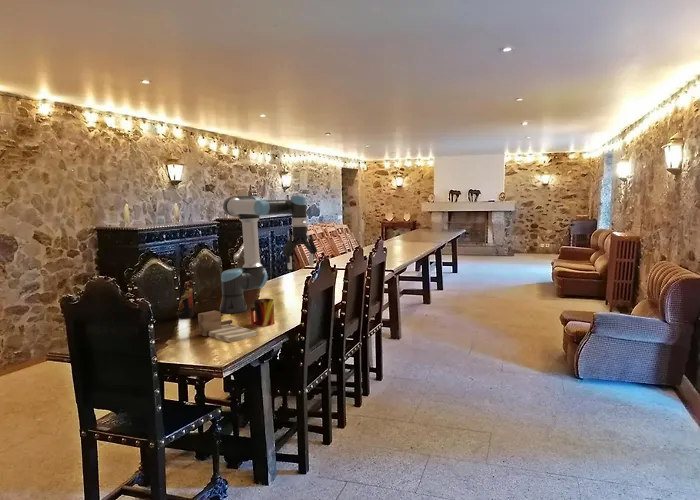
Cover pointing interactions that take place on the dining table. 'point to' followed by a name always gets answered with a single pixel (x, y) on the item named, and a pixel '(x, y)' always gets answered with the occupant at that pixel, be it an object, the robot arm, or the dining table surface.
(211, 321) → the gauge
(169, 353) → the dining table surface
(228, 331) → the board
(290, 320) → the dining table surface
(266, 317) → the mug
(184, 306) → the statue
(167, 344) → the dining table surface
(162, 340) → the dining table surface
